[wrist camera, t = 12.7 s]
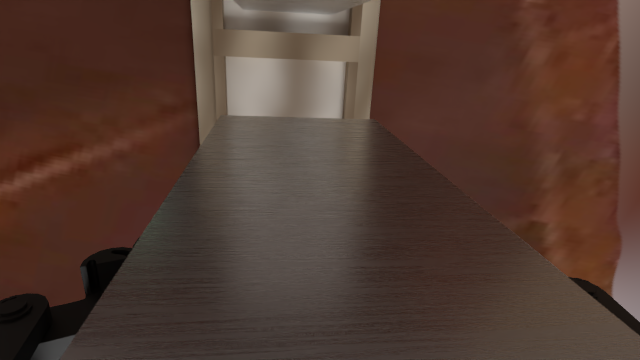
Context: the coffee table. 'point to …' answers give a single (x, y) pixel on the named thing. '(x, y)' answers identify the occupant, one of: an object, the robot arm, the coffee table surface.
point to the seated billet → (300, 5)
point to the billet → (335, 262)
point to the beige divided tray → (282, 62)
